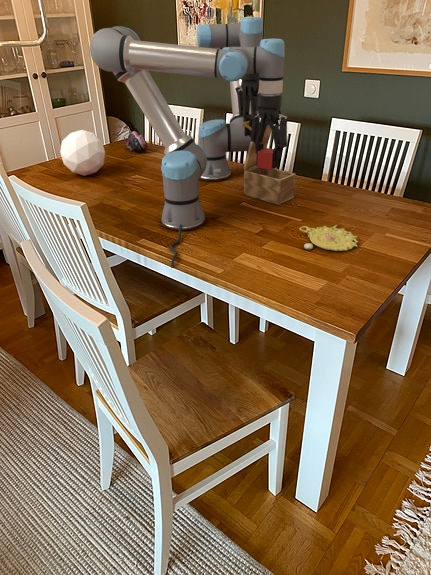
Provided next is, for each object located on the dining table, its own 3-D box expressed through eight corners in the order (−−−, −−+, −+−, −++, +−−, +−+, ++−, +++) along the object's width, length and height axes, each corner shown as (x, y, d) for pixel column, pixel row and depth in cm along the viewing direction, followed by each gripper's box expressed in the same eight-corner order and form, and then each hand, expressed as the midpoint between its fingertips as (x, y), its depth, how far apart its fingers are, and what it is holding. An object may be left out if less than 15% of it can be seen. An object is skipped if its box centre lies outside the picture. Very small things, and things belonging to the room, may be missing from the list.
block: (277, 165, 155) (278, 149, 152) (271, 169, 151) (272, 153, 148) (263, 163, 157) (263, 147, 154) (257, 167, 153) (257, 151, 150)
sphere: (92, 190, 205) (77, 164, 186) (61, 170, 209) (44, 142, 190) (118, 162, 209) (107, 134, 191) (87, 142, 214) (73, 113, 195)
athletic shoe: (136, 131, 245) (115, 136, 241) (146, 124, 225) (123, 129, 221) (142, 152, 248) (122, 157, 244) (152, 146, 228) (130, 152, 224)
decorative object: (343, 255, 128) (285, 234, 139) (342, 262, 130) (284, 241, 140) (372, 230, 142) (317, 213, 152) (371, 237, 143) (316, 219, 153)
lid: (274, 121, 165) (259, 111, 168) (257, 125, 159) (241, 115, 162) (261, 164, 177) (247, 154, 181) (245, 170, 171) (230, 159, 175)
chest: (294, 197, 173) (295, 173, 168) (278, 205, 167) (279, 180, 162) (259, 187, 183) (260, 164, 178) (243, 194, 177) (244, 170, 172)
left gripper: (302, 95, 138) (296, 168, 150) (255, 89, 150) (253, 157, 162) (287, 99, 133) (283, 174, 146) (240, 92, 145) (239, 162, 158)
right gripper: (274, 68, 155) (271, 137, 167) (242, 65, 164) (242, 131, 176) (260, 70, 150) (258, 141, 163) (228, 67, 159) (229, 134, 172)
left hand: (267, 165), depth 154 cm, fingers closed on block, 6 cm apart
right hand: (249, 135), depth 170 cm, fingers closed on lid, 2 cm apart
